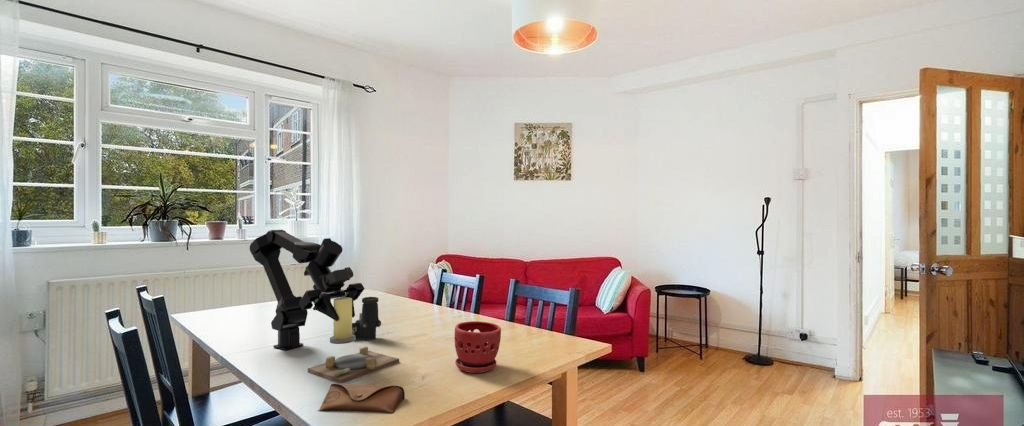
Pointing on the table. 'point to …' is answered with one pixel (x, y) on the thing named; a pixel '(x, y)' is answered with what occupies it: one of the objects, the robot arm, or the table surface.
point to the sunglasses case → (363, 398)
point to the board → (352, 365)
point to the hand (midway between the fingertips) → (346, 318)
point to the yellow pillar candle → (343, 322)
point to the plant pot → (476, 346)
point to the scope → (367, 320)
